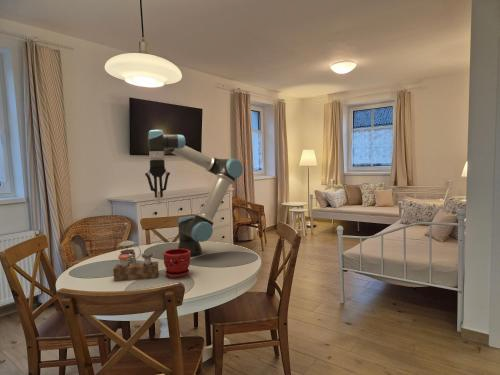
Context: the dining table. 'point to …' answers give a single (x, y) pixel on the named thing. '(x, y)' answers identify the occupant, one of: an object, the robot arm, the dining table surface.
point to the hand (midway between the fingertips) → (159, 203)
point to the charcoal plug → (147, 258)
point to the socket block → (136, 271)
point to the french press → (129, 243)
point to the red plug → (124, 259)
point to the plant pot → (177, 262)
